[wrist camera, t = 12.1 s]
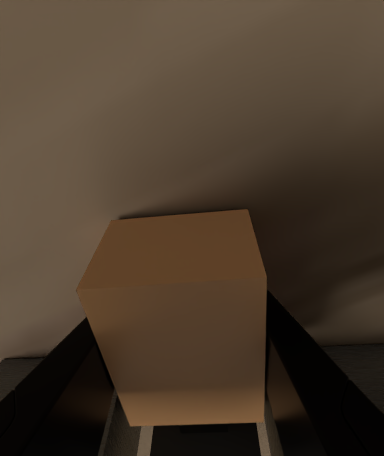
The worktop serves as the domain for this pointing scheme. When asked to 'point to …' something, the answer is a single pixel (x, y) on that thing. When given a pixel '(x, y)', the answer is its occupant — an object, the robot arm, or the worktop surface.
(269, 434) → the housing
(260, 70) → the worktop surface
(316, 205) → the worktop surface
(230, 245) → the plug
